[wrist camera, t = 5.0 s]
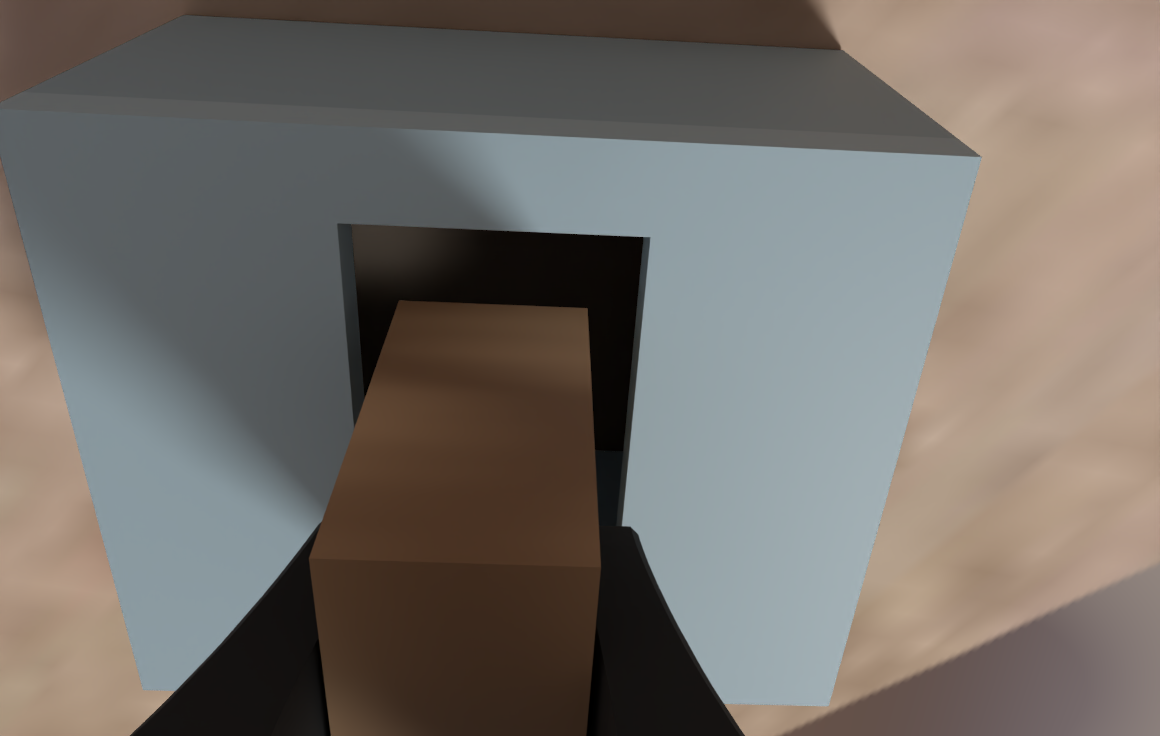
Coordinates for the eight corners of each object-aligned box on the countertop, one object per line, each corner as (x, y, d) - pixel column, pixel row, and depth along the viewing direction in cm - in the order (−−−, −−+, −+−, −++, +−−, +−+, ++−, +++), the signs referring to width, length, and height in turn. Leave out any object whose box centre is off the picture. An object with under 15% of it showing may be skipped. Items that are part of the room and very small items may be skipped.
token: (414, 605, 15) (354, 919, 11) (398, 300, 12) (308, 558, 8) (567, 609, 15) (569, 922, 11) (587, 308, 12) (600, 566, 8)
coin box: (252, 466, 21) (143, 689, 16) (183, 15, 16) (-13, 108, 11) (760, 483, 22) (828, 705, 16) (843, 50, 17) (981, 157, 11)
